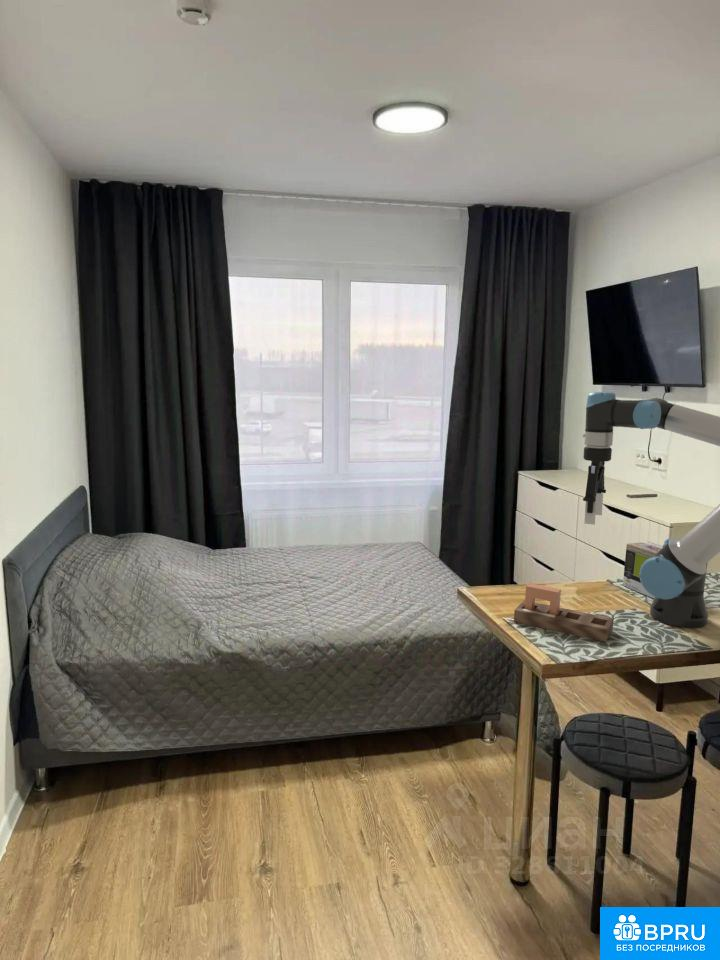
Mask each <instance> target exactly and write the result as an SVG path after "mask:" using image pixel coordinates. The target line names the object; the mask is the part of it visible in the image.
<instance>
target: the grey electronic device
mask: <svg viewBox="0 0 720 960" xmlns="http://www.w3.org/2000/svg"><path fill="white" fill-rule="evenodd" d="M662 548H663V545H660V544H657V543H655V542H650V541H642V542H632V543H631V542H630V543H626V548H625V558H624V568H623V569H624V570H623V579H622V581H623V582H622V586H623V587H625V586H626V588H628V589H631V590H633V591H635V592H637V593H640V594H642V595H645V596H647V597H649V598H651V599H654V598H655V597H654V596H652V595H651V594H650V593H648V592H647V591H646V590H645V588H644V587H643V585H642V583H641V581H640V574H639V573H640V568H641V566H642V564H643V563H644V562H645V561H646V560H647V559H648V558H650V557H653V556H654V555H655V554H656V553H657V552H658V551H660V550H661V549H662Z"/></svg>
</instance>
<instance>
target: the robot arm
mask: <svg viewBox="0 0 720 960" xmlns="http://www.w3.org/2000/svg"><path fill="white" fill-rule="evenodd" d="M614 427H615V428H629V429H630V428H631V429H632V428H633V429H641V430H646V429H648V430H651V429H652V430H653V429H655V428H658V429H661V430H665V431H669V432H672V433H675V434H679V435H680V436H681V435H682V436H685V437H689V438H691V439H694V440H698V441H701V442H704V443H707V444H711V445H714V446H718V447H720V415H719V416H718V415H714V414H711V413H708V412H703V411H700V410H696V409H693V408H689V407H686V406H683V405H679V404H674V403H671V402H668V401H667V400H666V399H663V398H657V397H656V398H650V399H649V398H648V399H637V400H632V399H629V400H627V399H616V393H615V392H610V391H609V392H608V391H593V392H590V393H588V395H587V399H586V407H585V428H584V431H585V432H584V433H583V435H582V438H584V445H585V446H584V447H583V456H582V457H583V458H582V459H583V460H585V461H588V462H591V463H590V465H588V467H587V468H588V469H587V470H588V471H587V473H588V474H587V482H586V487H585V496H584V497H582V501H583V502H585V505H584V507H585V509H584V524H585V525H595V524H596V515H597V516H602V515H603V502H604V494H606V493H607V489H606V488H605V469H606V467H605V464H606V462H610V461H611V460H612V455H613V453H612V451H613V449H612V448H611V447H612V446H613V440H614V438H613V437H614ZM662 546H663V548H662V549H661V550H660V551H658V552H657V553H656V554H655V555H654V556H653V557H650V558H648V559H647V560H646V561H645V562H644V563H643V564H642V566H641V568H640V573H639V574H640V581H641V583H642V585H643V587H644V588H645V590H646V591H647V592H648V593H650V594H651V595H652V596H654V597H655V598H653V600H652V603H651V604H650V607H649V614H650V616H651V618H653V619H655V620H656V621H658V622H661V623H663V624H666V625H669V626H674V627H679V628H692V629H694V628H701V627H705V626H706V625H707V624H708V620H709V619H708V618H709V614H708V610H707V605H706V601H705V597H704V596H705V595H704V593H705V587H706V579H707V578H706V577H707V570H708V563H709V562H710V561H711V560H713V559H714V558H715V557H716V556H717V555H718V554H720V503H719V504H718V505H717V506H715V508H714V509H713V510H711V511H710V512H709V513H708V514H707V515H705V517H703V519H702V520H700V521H699V522H698V523H697V524H696V525H694V527H693V528H692V529H690V530H689V531H688V532H687V533H686V534H685V535H684V536H682V538H666V539H664V542H663V545H662Z"/></svg>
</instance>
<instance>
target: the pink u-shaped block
mask: <svg viewBox="0 0 720 960" xmlns="http://www.w3.org/2000/svg"><path fill="white" fill-rule="evenodd" d="M561 591H562V589H561V588H557V587H556V588H555V587H552V586H551V587H550V586H545V585H540V584H536V583H531V582H530V583H527V585H526V586H525V596H524V598H525V599H524V600H525V609H527V610H531V611H534V607H535V603H536V600H542V601H545V602H546V601H547V602H549V605H550V610H549V614H550V615H555V616H559V608H561V595H562V594H561V593H562V592H561Z"/></svg>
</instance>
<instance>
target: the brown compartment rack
mask: <svg viewBox="0 0 720 960" xmlns="http://www.w3.org/2000/svg"><path fill="white" fill-rule="evenodd" d="M549 610H550V604H549V605H548V604H544V603H540V602H535V607H534V611H531V610H527V609H525V599H524V600H523V601H522V602H521V603H519V605H518V606H517V607H516V608H515V609H514V611H513V613H514V614H513V622H514V623H518V624H523V625H526V626H527V625H528V626H531V627H535V628H540V627H541V629H545V628H546V629H545V630H549V629H551V630H550V631H555V632H558V631H559V633H563V632H564V633H563V634H567V633H568V635H573V636H576V635H577V636H578V637H581V638H585V637H586V638H585V639H590V638H591V639H590V640H594V639H595V641H600V642H603V641H604V643H607V642H606V641H608V640H609V637H610V636H611V634H612V632H613V629H614V628H613V627H614V621H615V619H614V618H613V617H607V616H602V615H599V614H593V613H590V612H589V613H588V612H583V611H579V610H578V611H577V610H574V609H568V608H563V607H560V608H559V616H555V615H550V614H549ZM607 639H608V640H607Z"/></svg>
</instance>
